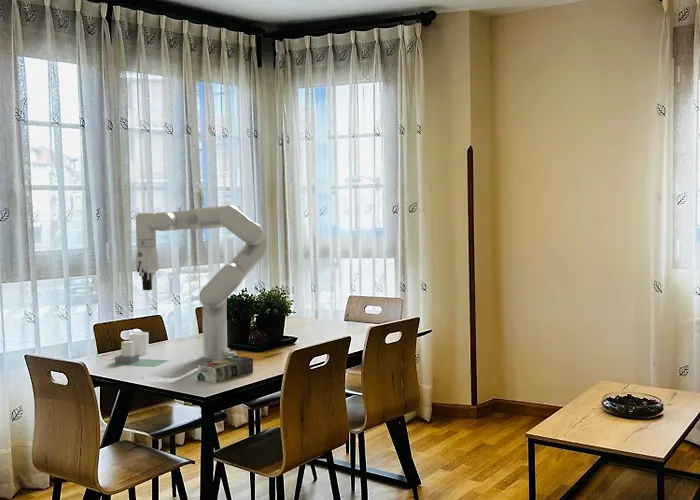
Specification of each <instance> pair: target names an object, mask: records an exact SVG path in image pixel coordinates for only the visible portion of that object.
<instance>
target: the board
mask: <svg viewBox="0 0 700 500" xmlns="http://www.w3.org/2000/svg"><path fill="white" fill-rule="evenodd" d="M114 359H115V361H114V362H113V361H112V362H111V363H108V364H107V366H122V367H123V366H125V367H144V368H146V367H148V368H149V367H151V368H156V367H157V366H160V365H162V364H164V363H167V362H170V360H169V359H145V358H140V355H138V354H135V355H134V356H132V357H121V354H118V355H115V357H114Z"/></svg>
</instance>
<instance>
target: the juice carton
mask: <svg viewBox="0 0 700 500" xmlns="http://www.w3.org/2000/svg"><path fill="white" fill-rule="evenodd" d="M253 362H254V359H253V357H252V358H251V357H247V356H245V357H244V356H239V355H236V356H234V357H231V358H226V359H222V360H218V361H214V362H210V363H203V364H198V365H197V371H198V372H197V373H198V374H197V376H196V377H197V378H196V379H197V381H204V382H208V383H214V384H217V383H220V382H224V381H227V380H232V379H235V378H238V377H243V376H246V375H250V374H253V372H254V364H253Z"/></svg>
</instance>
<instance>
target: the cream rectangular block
mask: <svg viewBox="0 0 700 500" xmlns="http://www.w3.org/2000/svg"><path fill="white" fill-rule="evenodd" d="M120 343H121V346H120V355H121V357H132V356H134V355H135V341H129V340H124V341H121V342H120Z"/></svg>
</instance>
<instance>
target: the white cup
mask: <svg viewBox="0 0 700 500" xmlns="http://www.w3.org/2000/svg"><path fill="white" fill-rule="evenodd" d="M128 341H135V354H138V355H139V356H144V355H148V354H149V353H148V352H149V331H136V332H130V333H128Z"/></svg>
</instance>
